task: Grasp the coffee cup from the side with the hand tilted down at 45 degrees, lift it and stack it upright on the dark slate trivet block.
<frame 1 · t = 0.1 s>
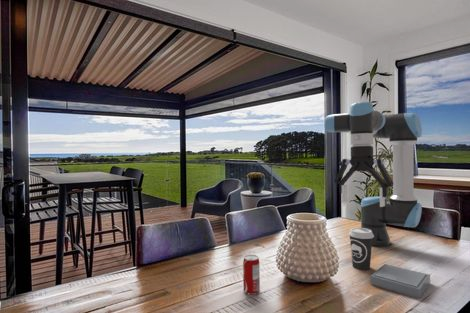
hand: (362, 204, 107), 28 cm above the table, tool pointing down, fingers open, 13 cm apart
soda can: (251, 291, 100), on the table
slate base: (400, 283, 104), on the table
coffee cup: (361, 267, 120), on the table
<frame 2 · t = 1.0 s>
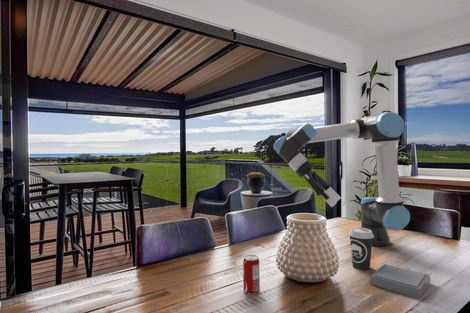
hand: (336, 202, 123), 26 cm above the table, tool tilted 45°, fingers open, 13 cm apart
nothing on the table moved.
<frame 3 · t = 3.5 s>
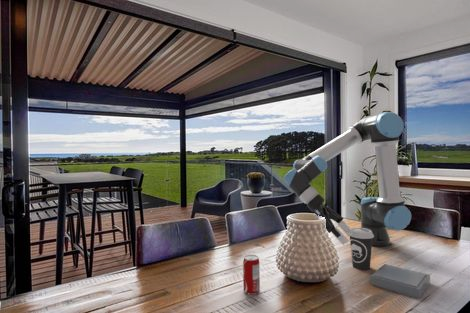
hand: (348, 238, 121), 11 cm above the table, tool tilted 45°, fingers open, 13 cm apart
nothing on the table moved.
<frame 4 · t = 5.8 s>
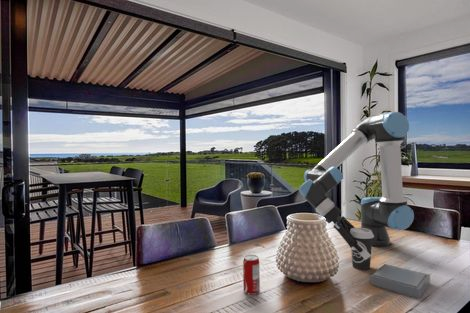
hand: (369, 253, 118), 6 cm above the table, tool tilted 45°, fingers closed on coffee cup, 9 cm apart
coffee cup: (361, 267, 120), on the table, touching gripper
everything else where it was.
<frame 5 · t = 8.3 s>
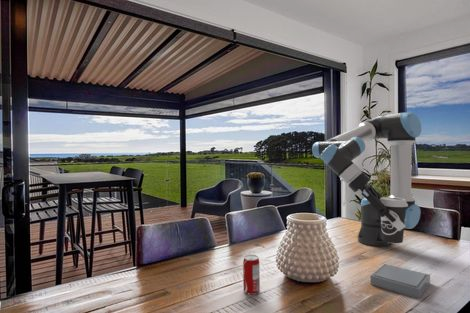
hand: (402, 225, 104), 21 cm above the table, tool tilted 45°, fingers closed on coffee cup, 9 cm apart
coffee cup: (392, 240, 105), point 15 cm above the table, touching gripper
everything else where it was.
when the fingers open (10 cm above the table, at t = 11.1 s): coffee cup stays where it is, resting on slate base.
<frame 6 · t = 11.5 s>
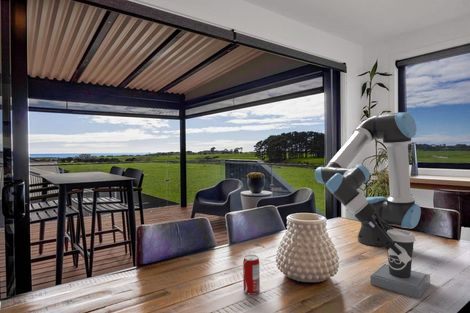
hand: (407, 254, 103), 11 cm above the table, tool tilted 45°, fingers open, 13 cm apart
coffee cup: (399, 274, 104), point 3 cm above the table, touching slate base
everything else where it was.
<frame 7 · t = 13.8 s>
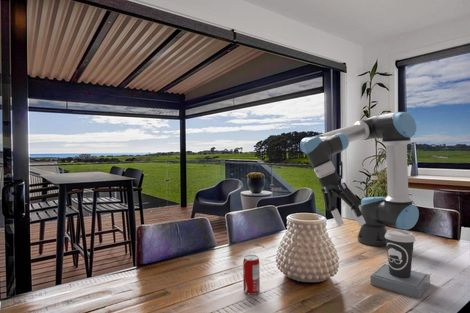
hand: (351, 224, 113), 19 cm above the table, tool tilted 25°, fingers open, 13 cm apart
nothing on the table moved.
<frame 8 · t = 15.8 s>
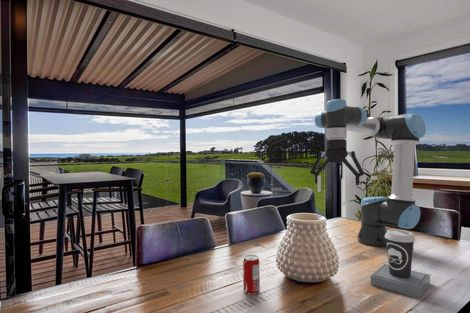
hand: (336, 192, 117), 31 cm above the table, tool pointing down, fingers open, 13 cm apart
nothing on the table moved.
at the end: coffee cup inside the target area on the slate base (0.2 cm from its centre), point 3.1 cm above the slate base's base; coffee cup tilted 0°; the gripper is holding nothing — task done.
